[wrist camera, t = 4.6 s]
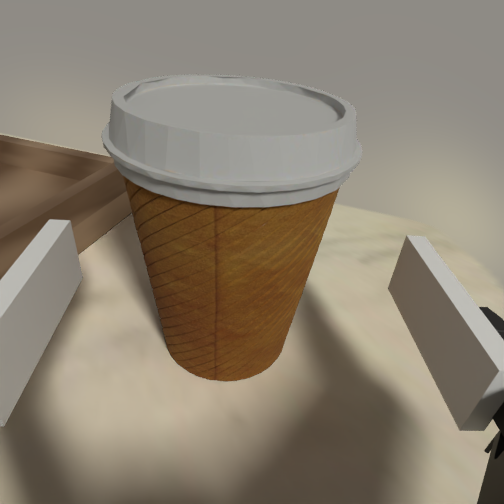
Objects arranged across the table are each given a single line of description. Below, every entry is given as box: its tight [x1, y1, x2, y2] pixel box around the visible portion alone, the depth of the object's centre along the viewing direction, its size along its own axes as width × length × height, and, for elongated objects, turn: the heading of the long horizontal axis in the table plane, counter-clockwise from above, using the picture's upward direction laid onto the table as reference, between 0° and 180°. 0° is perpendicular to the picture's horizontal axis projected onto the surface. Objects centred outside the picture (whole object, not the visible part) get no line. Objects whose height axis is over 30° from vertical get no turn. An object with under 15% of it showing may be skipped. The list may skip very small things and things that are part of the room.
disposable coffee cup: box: [102, 75, 362, 381], centre depth 17 cm, size 10×10×12 cm
